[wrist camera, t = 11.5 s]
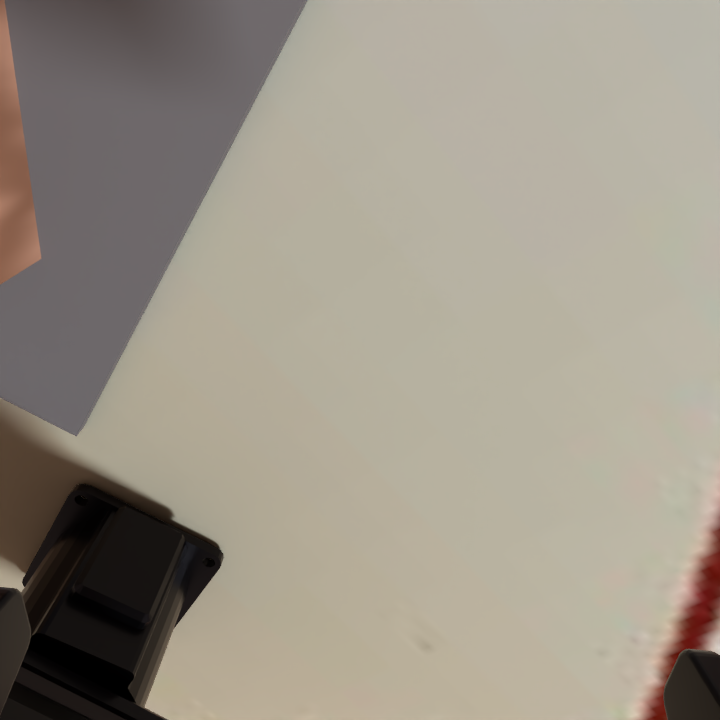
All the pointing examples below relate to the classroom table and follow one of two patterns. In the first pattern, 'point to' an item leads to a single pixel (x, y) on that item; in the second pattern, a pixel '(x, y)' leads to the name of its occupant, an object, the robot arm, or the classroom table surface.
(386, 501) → the classroom table surface
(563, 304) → the classroom table surface
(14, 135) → the terracotta block
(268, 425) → the classroom table surface
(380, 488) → the classroom table surface
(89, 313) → the charcoal mat
